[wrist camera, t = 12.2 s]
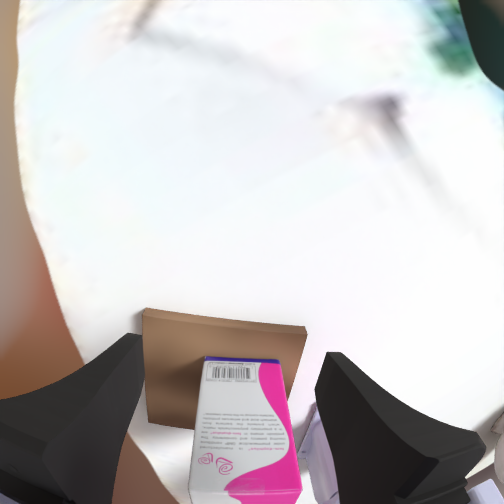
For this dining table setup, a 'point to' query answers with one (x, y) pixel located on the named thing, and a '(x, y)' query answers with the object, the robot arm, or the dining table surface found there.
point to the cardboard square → (193, 354)
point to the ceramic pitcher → (499, 448)
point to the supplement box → (243, 435)
